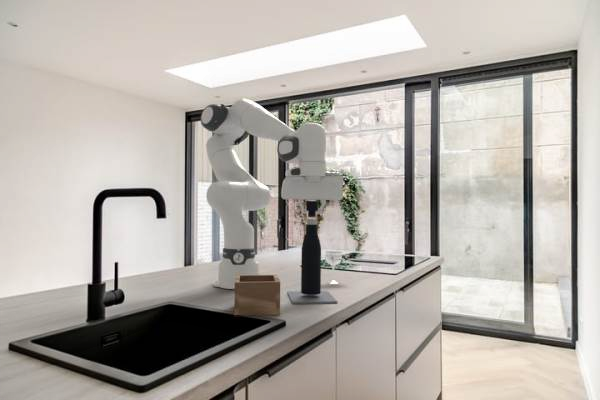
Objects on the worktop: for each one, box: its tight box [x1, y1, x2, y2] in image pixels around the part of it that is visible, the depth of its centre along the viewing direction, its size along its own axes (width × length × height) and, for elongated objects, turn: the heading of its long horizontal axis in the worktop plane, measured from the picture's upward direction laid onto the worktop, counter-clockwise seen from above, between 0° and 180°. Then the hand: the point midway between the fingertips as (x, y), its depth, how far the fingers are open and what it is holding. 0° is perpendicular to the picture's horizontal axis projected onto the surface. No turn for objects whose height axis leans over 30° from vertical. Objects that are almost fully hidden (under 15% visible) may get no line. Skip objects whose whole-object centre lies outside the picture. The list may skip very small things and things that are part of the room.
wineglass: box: [324, 250, 343, 284], centre depth 163 cm, size 7×7×12 cm
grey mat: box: [287, 290, 338, 305], centre depth 135 cm, size 16×14×1 cm
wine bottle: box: [300, 200, 322, 295], centre depth 135 cm, size 6×6×30 cm
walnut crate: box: [233, 274, 281, 317], centre depth 119 cm, size 12×12×9 cm
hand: (311, 213), depth 135 cm, fingers closed on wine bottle, 4 cm apart
